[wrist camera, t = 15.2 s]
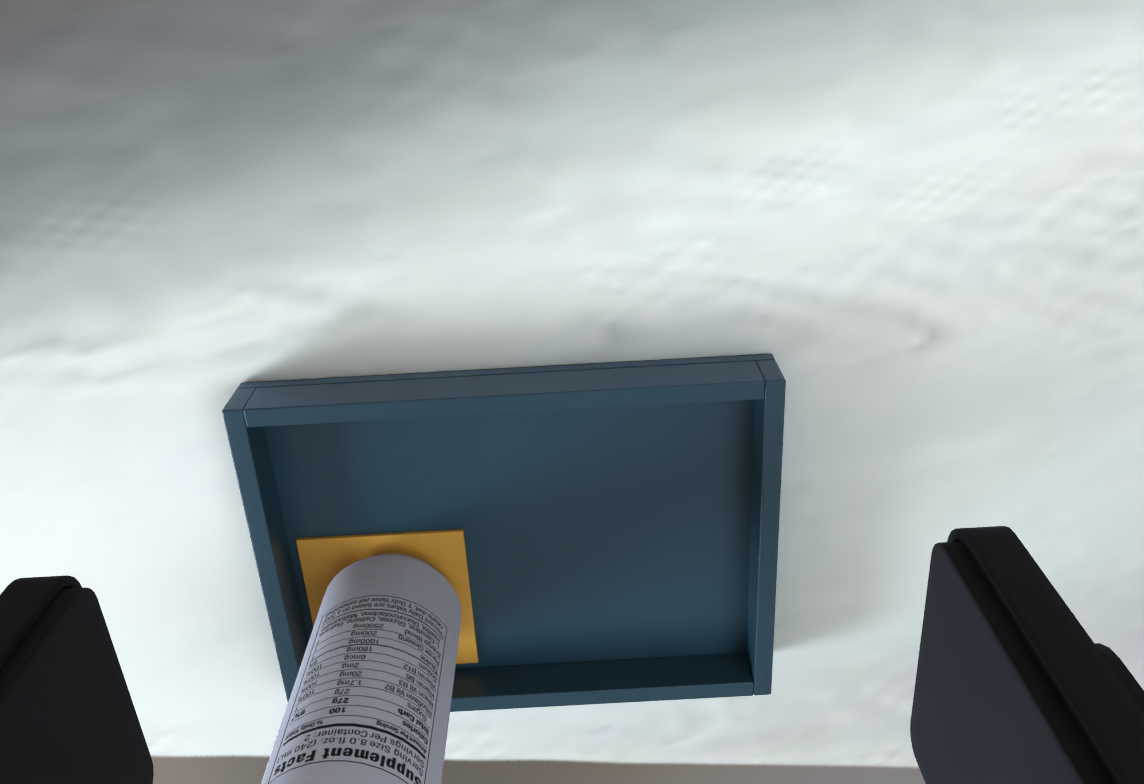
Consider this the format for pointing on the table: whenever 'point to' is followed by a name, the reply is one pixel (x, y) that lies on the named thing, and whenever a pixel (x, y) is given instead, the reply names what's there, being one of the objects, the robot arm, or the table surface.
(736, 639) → the tray
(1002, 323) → the table surface
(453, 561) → the corner tile
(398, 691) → the energy drink can
